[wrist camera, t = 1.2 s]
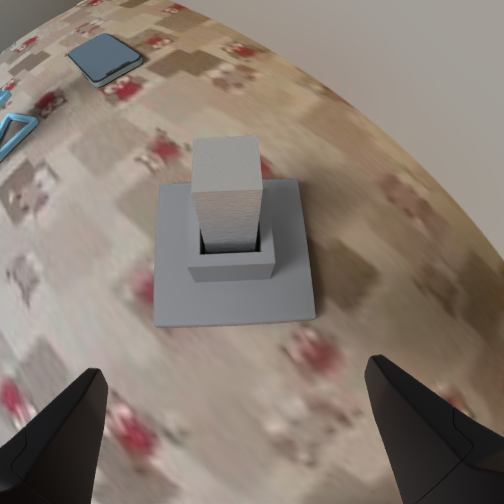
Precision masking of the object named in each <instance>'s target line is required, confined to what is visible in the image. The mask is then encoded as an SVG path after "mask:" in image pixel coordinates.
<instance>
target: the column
mask: <svg viewBox="0 0 504 504" xmlns="http://www.w3.org/2000/svg"><path fill="white" fill-rule="evenodd" d="M262 192H263V186H262V175H261V165H260V155H259V145H258V136H237V137H214V138H197V139H194V140H193V160H192V184H191V194H192V198H193V202H194V206H195V210H196V214H197V217H198V221H199V225H200V229H201V233H202V237H203V241H204V244H205V248H206V252H207V254H228V253H250V252H255V244H256V237H257V229H258V222H259V214H260V207H261V199H262Z"/></svg>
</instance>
